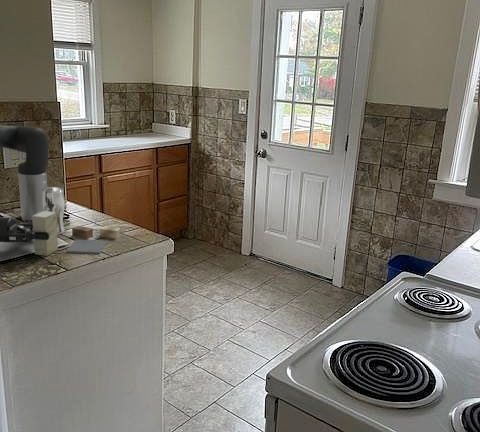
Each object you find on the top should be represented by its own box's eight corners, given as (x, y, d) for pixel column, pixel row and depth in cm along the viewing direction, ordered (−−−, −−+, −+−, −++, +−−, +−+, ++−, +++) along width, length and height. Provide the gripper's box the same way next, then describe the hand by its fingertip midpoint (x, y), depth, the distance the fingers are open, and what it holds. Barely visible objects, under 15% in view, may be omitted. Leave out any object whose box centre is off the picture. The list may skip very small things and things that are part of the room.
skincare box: (47, 256, 144) (44, 217, 140) (33, 254, 145) (31, 215, 141) (58, 249, 150) (56, 211, 146) (45, 247, 151) (43, 210, 147)
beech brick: (100, 237, 163) (99, 228, 162) (103, 234, 166) (103, 226, 165) (117, 239, 162) (116, 230, 161) (120, 236, 165) (120, 228, 164)
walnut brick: (72, 236, 162) (71, 228, 161) (78, 233, 165) (77, 225, 164) (87, 239, 160) (87, 231, 159) (92, 236, 163) (92, 228, 162)
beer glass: (55, 227, 169) (53, 185, 164) (70, 231, 166) (68, 188, 162) (39, 232, 163) (36, 189, 158) (54, 236, 160) (52, 193, 156)
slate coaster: (75, 241, 157) (75, 239, 157) (106, 242, 158) (106, 240, 158) (66, 252, 148) (66, 250, 148) (99, 253, 149) (99, 252, 148)
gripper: (-16, 225, 137) (44, 227, 138) (5, 210, 150) (59, 213, 151) (-14, 250, 139) (45, 252, 140) (7, 233, 153) (60, 235, 154)
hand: (52, 231), depth 146 cm, fingers closed on skincare box, 7 cm apart
